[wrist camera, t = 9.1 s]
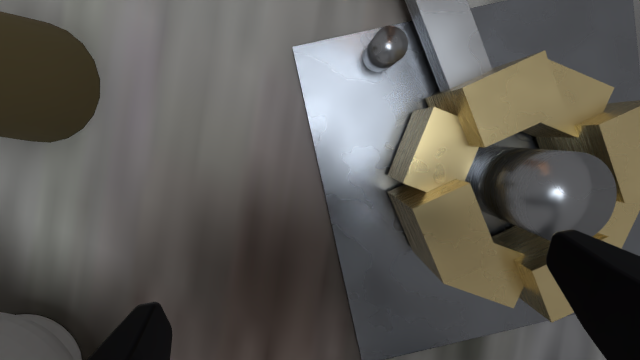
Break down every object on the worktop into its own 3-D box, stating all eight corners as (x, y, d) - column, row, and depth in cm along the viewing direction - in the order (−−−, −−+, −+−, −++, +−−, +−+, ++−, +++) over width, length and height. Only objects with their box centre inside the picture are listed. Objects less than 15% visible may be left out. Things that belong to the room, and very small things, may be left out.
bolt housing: (654, 290, 22) (802, 356, 15) (361, 360, 21) (387, 457, 15) (623, -24, 19) (783, -101, 13) (292, 48, 19) (288, 5, 13)
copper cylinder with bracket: (617, 228, 20) (1240, 414, 7) (437, 309, 20) (703, 651, 7) (492, -143, 18) (1118, -1045, 4) (284, -48, 18) (230, -631, 4)
